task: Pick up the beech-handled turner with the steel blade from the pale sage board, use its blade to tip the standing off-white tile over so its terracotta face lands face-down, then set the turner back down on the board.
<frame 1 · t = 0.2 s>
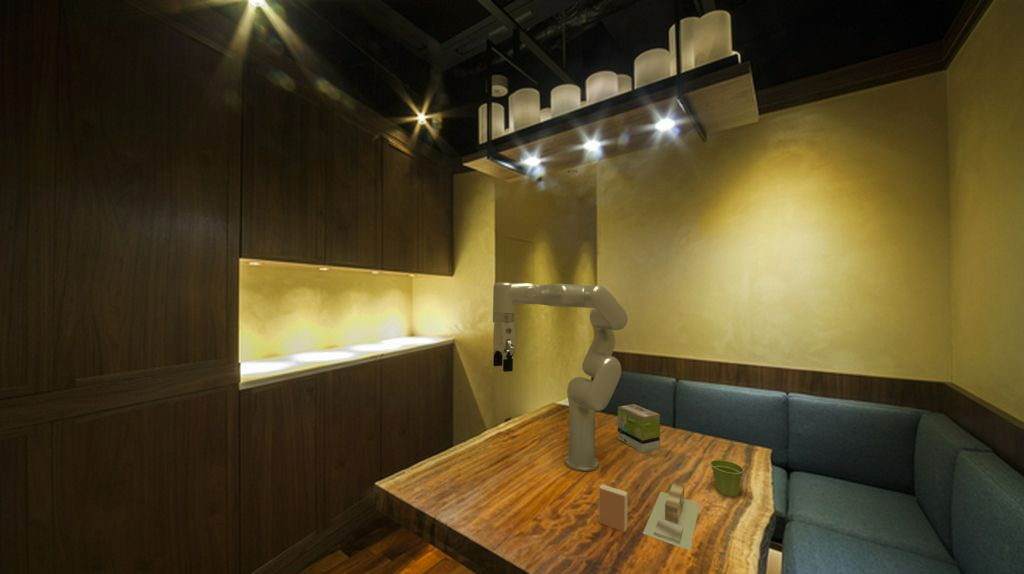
hand: (502, 368, 119), 37 cm above the table, tool pointing down, fingers open, 9 cm apart
tea box: (637, 444, 149), on the table
plant pot: (726, 494, 112), on the table
turner: (675, 511, 100), point 1 cm above the table, touching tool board
tile: (612, 527, 94), on the table
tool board: (673, 520, 97), on the table
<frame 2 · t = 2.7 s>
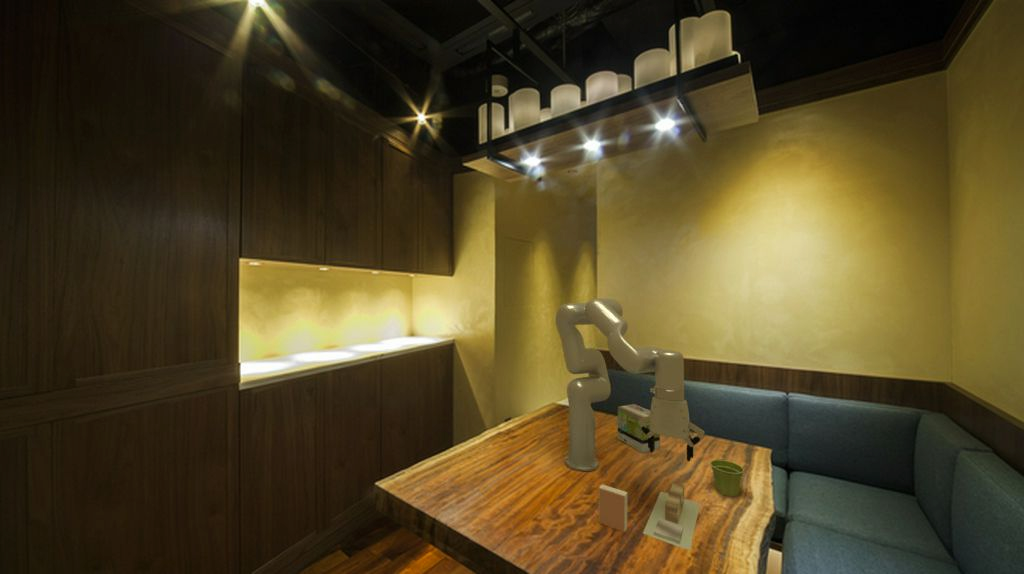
hand: (670, 455, 99), 17 cm above the table, tool pointing down, fingers open, 9 cm apart
nothing on the table moved.
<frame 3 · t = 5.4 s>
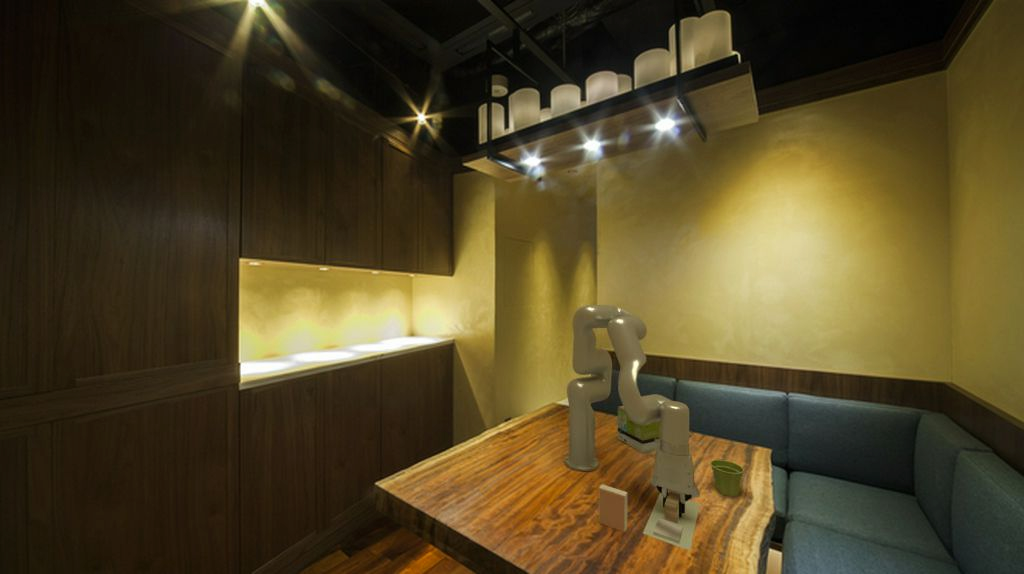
hand: (673, 511, 99), 1 cm above the table, tool pointing down, fingers closed on turner, 2 cm apart
turner: (674, 511, 100), point 1 cm above the table, touching gripper, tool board
everything else where it was.
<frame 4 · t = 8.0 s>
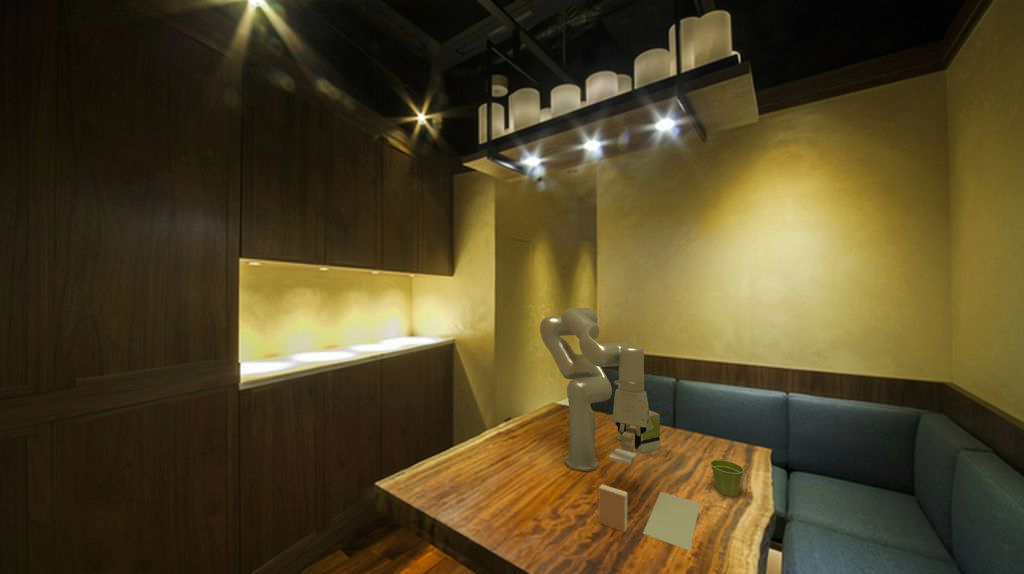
hand: (631, 445, 109), 16 cm above the table, tool pointing down, fingers closed on turner, 3 cm apart
turner: (632, 445, 110), point 15 cm above the table, touching gripper
everything else where it was.
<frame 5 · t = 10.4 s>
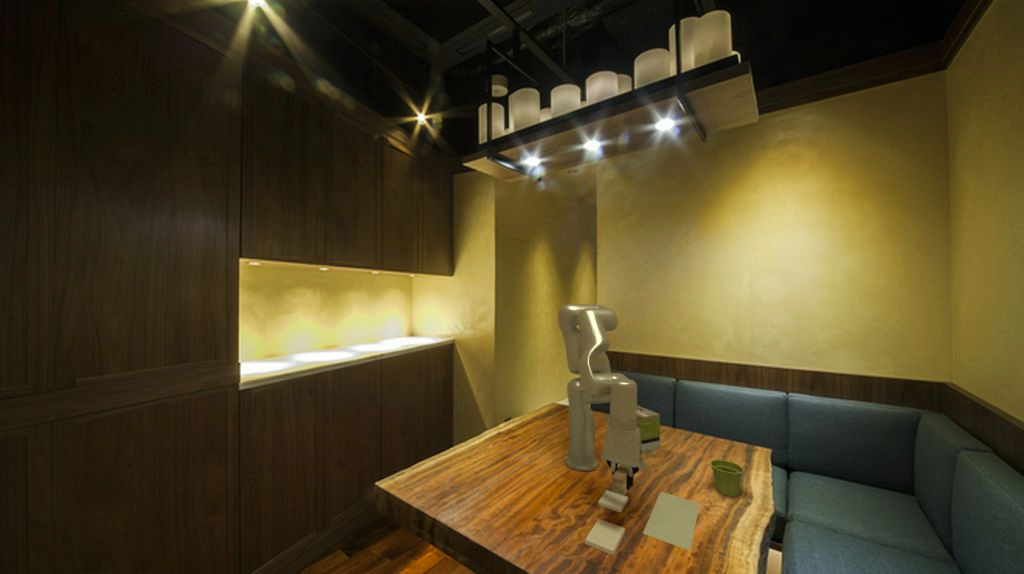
hand: (622, 485, 102), 7 cm above the table, tool pointing down, fingers closed on turner, 3 cm apart
turner: (624, 485, 103), point 7 cm above the table, touching gripper
tile: (611, 527, 93), point 1 cm above the table, tilted 90°
everything else where it was.
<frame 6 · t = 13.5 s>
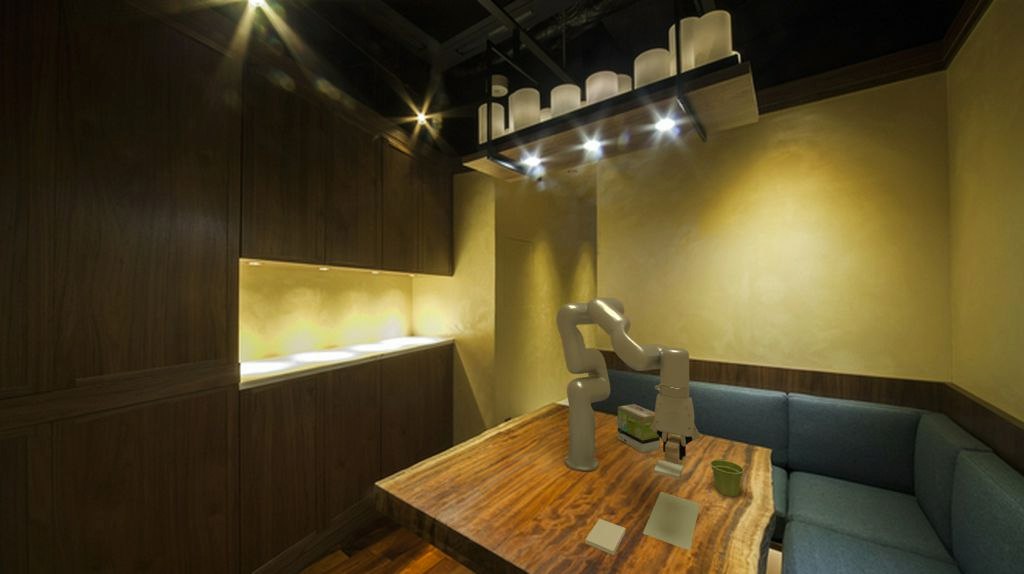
hand: (674, 456, 99), 17 cm above the table, tool pointing down, fingers closed on turner, 3 cm apart
turner: (675, 456, 101), point 16 cm above the table, touching gripper
everything else where it was.
when the fingers open (3 cm above the table, at t = 16.3 s): turner drops 1 cm, resting on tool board.
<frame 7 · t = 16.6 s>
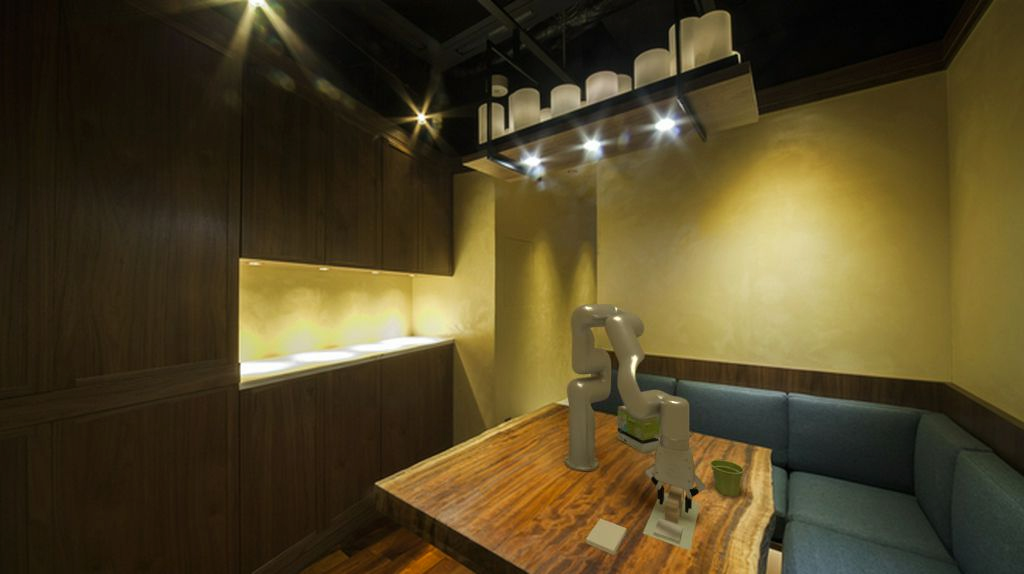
hand: (674, 505, 99), 3 cm above the table, tool pointing down, fingers open, 6 cm apart
turner: (674, 511, 100), point 1 cm above the table, touching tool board
everything else where it was.
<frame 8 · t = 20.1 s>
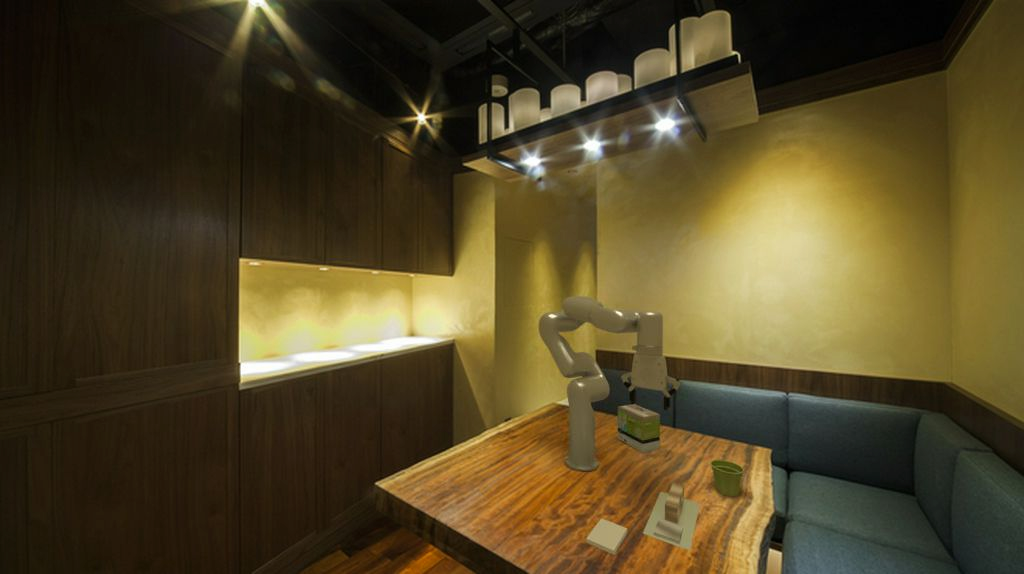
hand: (649, 406, 109), 28 cm above the table, tool pointing down, fingers open, 9 cm apart
nothing on the table moved.
at the end: tile tilted 90°; tile inside the target area (3.6 cm from its centre), point 0.8 cm above the table; turner inside the target area on the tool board (1.9 cm from its centre), point 0.8 cm above the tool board's base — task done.
